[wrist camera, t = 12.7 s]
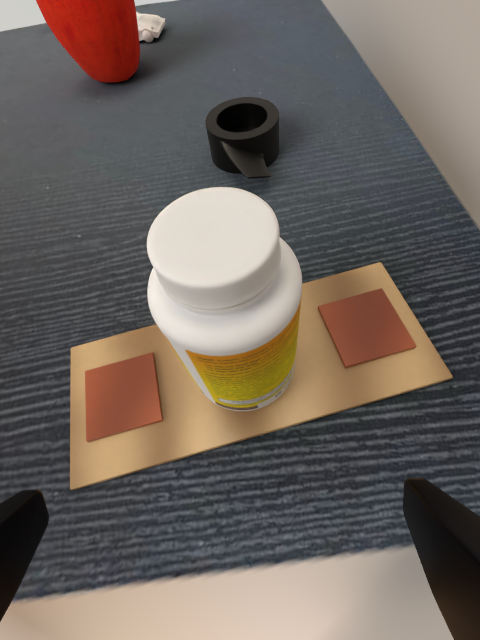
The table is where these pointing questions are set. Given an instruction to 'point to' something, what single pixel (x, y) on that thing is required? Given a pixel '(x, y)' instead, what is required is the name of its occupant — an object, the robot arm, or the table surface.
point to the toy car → (149, 26)
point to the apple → (97, 35)
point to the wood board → (234, 426)
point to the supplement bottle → (226, 295)
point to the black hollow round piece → (244, 136)
